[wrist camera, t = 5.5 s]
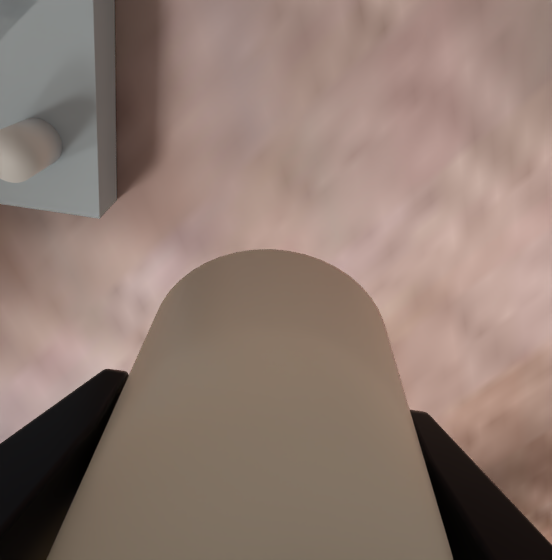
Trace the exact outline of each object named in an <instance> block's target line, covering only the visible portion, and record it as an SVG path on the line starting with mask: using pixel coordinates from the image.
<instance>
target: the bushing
mask: <svg viewBox="0 0 552 560" xmlns="http://www.w3.org/2000/svg"><path fill="white" fill-rule="evenodd" d="M46 560H453V556H452V553H451V549H450V546H449V542H448V539H447V536H446V532H445V529H444V525H443V522H442V519H441V515H440V512H439V508H438V505H437V501H436V498H435V495H434V491H433V488H432V484H431V481H430V478H429V474H428V471H427V467H426V464H425V460H424V457H423V454H422V450H421V447H420V443H419V440H418V437H417V433H416V430H415V426H414V423H413V419H412V416H411V413H410V409H409V406H408V402H407V399H406V396H405V392H404V389H403V385H402V382H401V379H400V375H399V372H398V368H397V365H396V361H395V358H394V355H393V351H392V348H391V344H390V341H389V338H388V334H387V331H386V327H385V324H384V321H383V319H382V316H381V314H380V312H379V309H378V308H377V306H376V305H375V303H374V302H373V300H372V298H371V297H370V296H369V295H368V294H367V292H366V291H365V290H364V289H363V288H362V287H361V286H360V285H359V284H358V283H357V282H356V281H355V280H353V279H352V278H351V277H350V276H349V275H347V274H346V273H344V272H343V271H341V270H340V269H338V268H336V267H335V266H332V265H330V264H328V263H326V262H324V261H322V260H320V259H317V258H314V257H311V256H308V255H305V254H300V253H296V252H291V251H284V250H273V249H265V250H249V251H242V252H236V253H232V254H229V255H225V256H222V257H219V258H216V259H214V260H212V261H209V262H207V263H205V264H203V265H201V266H200V267H198V268H196V269H194V270H193V271H191V272H190V273H189V274H187V275H186V276H185V277H184V278H182V279H181V280H180V281H179V282H178V283H177V284H176V285H175V286H174V287H173V288H172V289H171V290H170V292H169V293H168V294H167V296H166V297H165V299H164V300H163V302H162V303H161V306H160V308H159V310H158V312H157V314H156V316H155V318H154V321H153V323H152V325H151V327H150V330H149V332H148V334H147V336H146V338H145V341H144V343H143V345H142V347H141V350H140V352H139V354H138V356H137V359H136V361H135V363H134V365H133V367H132V370H131V372H130V374H129V376H128V379H127V381H126V383H125V385H124V387H123V390H122V392H121V394H120V396H119V399H118V401H117V403H116V405H115V408H114V410H113V412H112V414H111V416H110V419H109V421H108V423H107V425H106V428H105V430H104V432H103V434H102V437H101V439H100V441H99V443H98V445H97V448H96V450H95V452H94V454H93V457H92V459H91V461H90V463H89V466H88V468H87V470H86V472H85V474H84V477H83V479H82V481H81V483H80V486H79V488H78V490H77V492H76V494H75V497H74V499H73V501H72V503H71V506H70V508H69V510H68V512H67V515H66V517H65V519H64V521H63V523H62V526H61V528H60V530H59V532H58V535H57V537H56V539H55V541H54V544H53V546H52V548H51V550H50V552H49V555H48V557H47V559H46Z"/></svg>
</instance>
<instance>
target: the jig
mask: <svg viewBox="0 0 552 560" xmlns="http://www.w3.org/2000/svg"><path fill="white" fill-rule="evenodd" d="M116 200H117V174H116V83H115V0H0V204H4V205H11V206H18V207H24V208H31V209H38V210H45V211H51V212H58V213H65V214H72V215H78V216H85V217H92V218H99V219H100V218H101V216H102V215H103V214H104V213H105V212H106V211H107V210H108V209H109V208H110V207H111V206H112V205H113V204H114V203H115V202H116Z"/></svg>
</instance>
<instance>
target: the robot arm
mask: <svg viewBox="0 0 552 560" xmlns="http://www.w3.org/2000/svg"><path fill="white" fill-rule="evenodd" d="M128 376H129V375H128V373H127V372H126V371H120V370H113V369H105V370H103V371H101V372H100V373H98V374H97V375H96V376H94V377H93V378H91V379H90V380H89V381H87V382H86V383H84V384H83V385H82V386H80V387H79V388H77V389H76V390H75V391H73V392H72V393H70V394H69V395H68V396H66V397H65V398H63V399H62V400H61V401H59V402H58V403H57V404H55V405H54V406H52V407H51V408H50V409H48V410H47V411H45V412H44V413H43V414H41V415H40V416H38V417H37V418H36V419H34V420H33V421H31V422H30V423H29V424H27V425H26V426H24V427H23V428H22V429H20V430H19V431H17V432H16V433H15V434H13V435H12V436H10V437H9V438H8V439H6V440H5V441H3V442H2V443H1V444H0V560H46V559H47V557H48V555H49V552H50V550H51V548H52V546H53V544H54V541H55V539H56V537H57V535H58V532H59V530H60V528H61V526H62V523H63V521H64V519H65V517H66V515H67V512H68V510H69V508H70V506H71V503H72V501H73V499H74V497H75V494H76V492H77V490H78V488H79V486H80V483H81V481H82V479H83V477H84V474H85V472H86V470H87V468H88V466H89V463H90V461H91V459H92V457H93V454H94V452H95V450H96V448H97V445H98V443H99V441H100V439H101V437H102V434H103V432H104V430H105V428H106V425H107V423H108V421H109V419H110V416H111V414H112V412H113V410H114V408H115V405H116V403H117V401H118V399H119V396H120V394H121V392H122V390H123V387H124V385H125V383H126V381H127V379H128ZM410 413H411V416H412V419H413V423H414V426H415V430H416V433H417V437H418V440H419V443H420V447H421V450H422V454H423V457H424V460H425V464H426V467H427V471H428V474H429V478H430V481H431V484H432V488H433V491H434V495H435V498H436V501H437V505H438V508H439V512H440V515H441V519H442V522H443V525H444V529H445V532H446V536H447V539H448V542H449V546H450V549H451V553H452V556H453V560H552V545H551V544H550V542H549V541H548V540H547V539H546V538H545V537H544V536H543V535H542V534H541V533H540V532H539V531H538V530H537V529H536V528H535V527H534V525H533V524H532V523H531V522H530V521H529V520H528V519H527V518H526V517H525V516H524V515H523V514H522V513H521V512H520V511H519V510H518V508H517V507H516V506H515V505H514V504H513V503H512V502H511V501H510V500H509V499H508V498H507V497H506V496H505V495H504V494H503V493H502V491H501V490H500V489H499V488H498V487H497V486H496V485H495V484H494V483H493V482H492V481H491V480H490V479H489V478H488V477H487V476H486V474H485V473H484V472H483V471H482V470H481V469H480V468H479V467H478V466H477V465H476V464H475V463H474V462H473V461H472V460H471V459H470V458H469V456H468V455H467V454H466V453H465V452H464V451H463V450H462V449H461V448H460V447H459V446H458V445H457V444H456V443H455V442H454V441H453V439H452V438H451V437H450V436H449V435H448V434H447V433H446V432H445V431H444V430H443V429H442V428H441V427H440V426H439V425H438V424H437V422H436V421H435V420H434V419H433V418H432V417H431V416H430V415H429V414H428V413H426V412H422V411H415V410H410Z"/></svg>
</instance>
